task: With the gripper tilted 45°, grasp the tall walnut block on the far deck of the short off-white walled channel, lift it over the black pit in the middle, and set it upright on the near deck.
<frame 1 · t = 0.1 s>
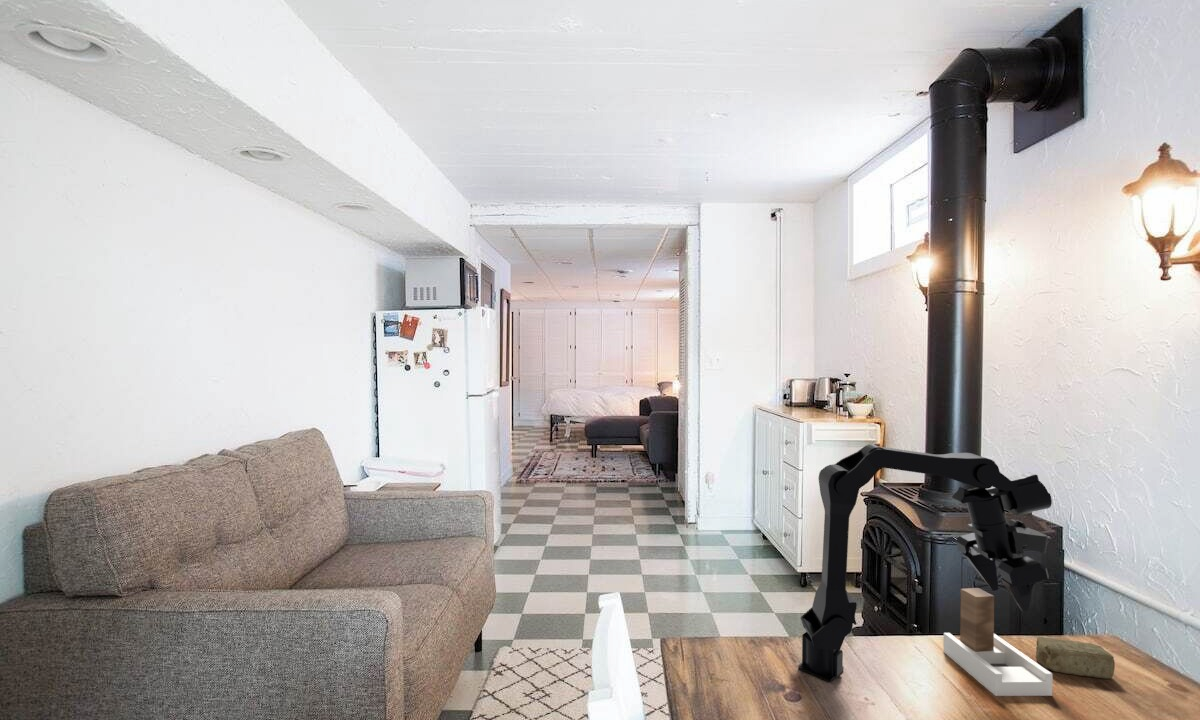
hand: (1009, 600, 106), 15 cm above the table, tool pointing down, fingers open, 9 cm apart
stone block: (1072, 670, 110), on the table
walled channel: (994, 672, 109), on the table
walnut block: (976, 646, 114), point 2 cm above the table, touching walled channel
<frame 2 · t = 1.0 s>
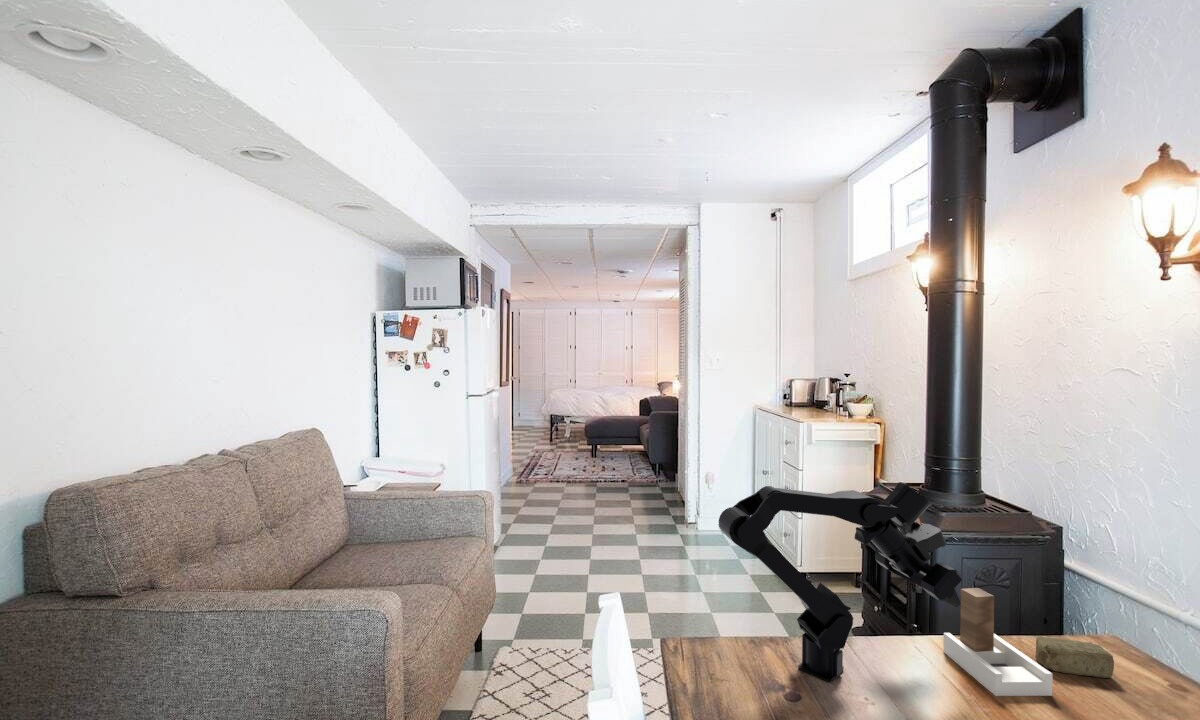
hand: (941, 595, 113), 13 cm above the table, tool tilted 45°, fingers open, 9 cm apart
nothing on the table moved.
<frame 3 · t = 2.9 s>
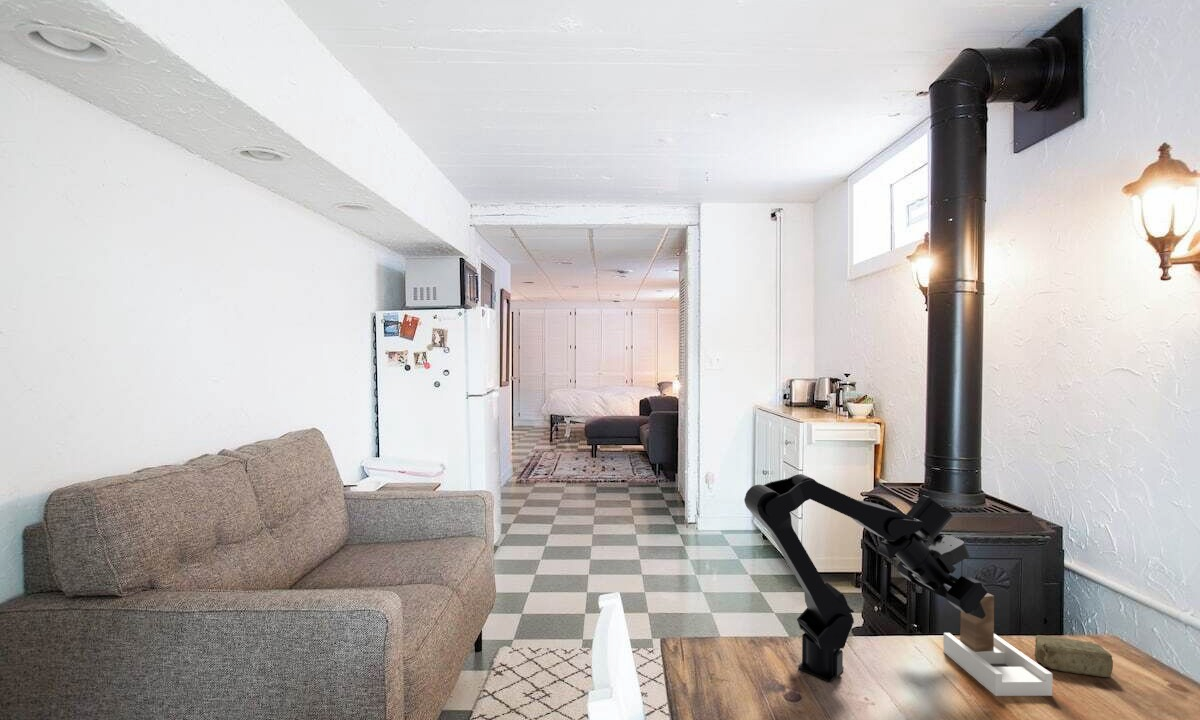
hand: (965, 606, 113), 11 cm above the table, tool tilted 45°, fingers open, 9 cm apart
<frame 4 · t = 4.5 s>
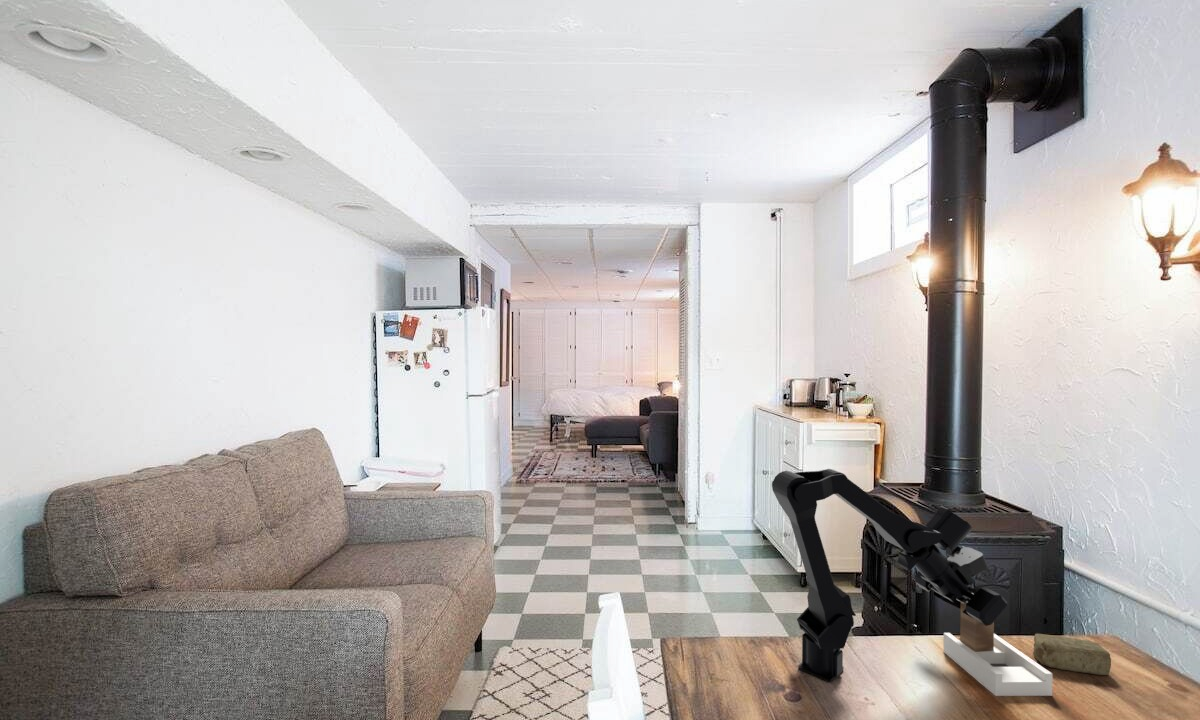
hand: (983, 617, 114), 8 cm above the table, tool tilted 45°, fingers closed on walnut block, 4 cm apart
walnut block: (976, 646, 114), point 2 cm above the table, touching gripper, walled channel
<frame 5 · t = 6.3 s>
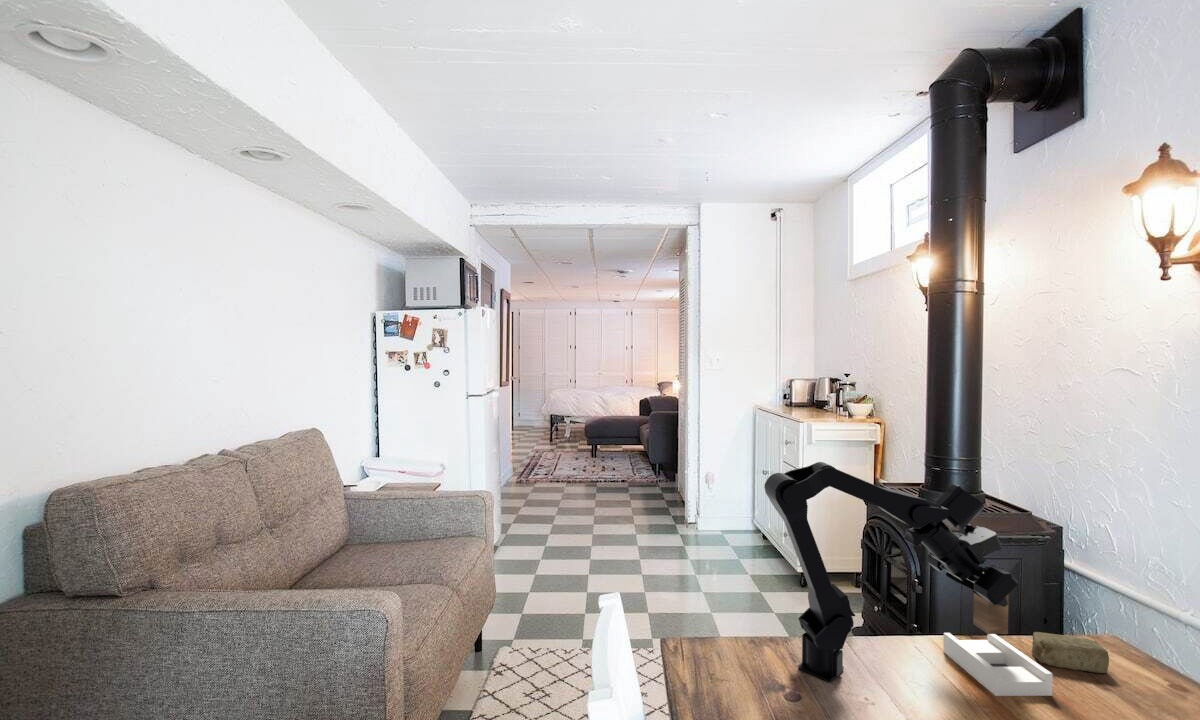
hand: (997, 600, 110), 13 cm above the table, tool tilted 45°, fingers closed on walnut block, 4 cm apart
walnut block: (990, 628, 110), point 8 cm above the table, touching gripper
when the fingers open (9 cm above the table, at t = 8.2 s): walnut block drops 1 cm, resting on walled channel.
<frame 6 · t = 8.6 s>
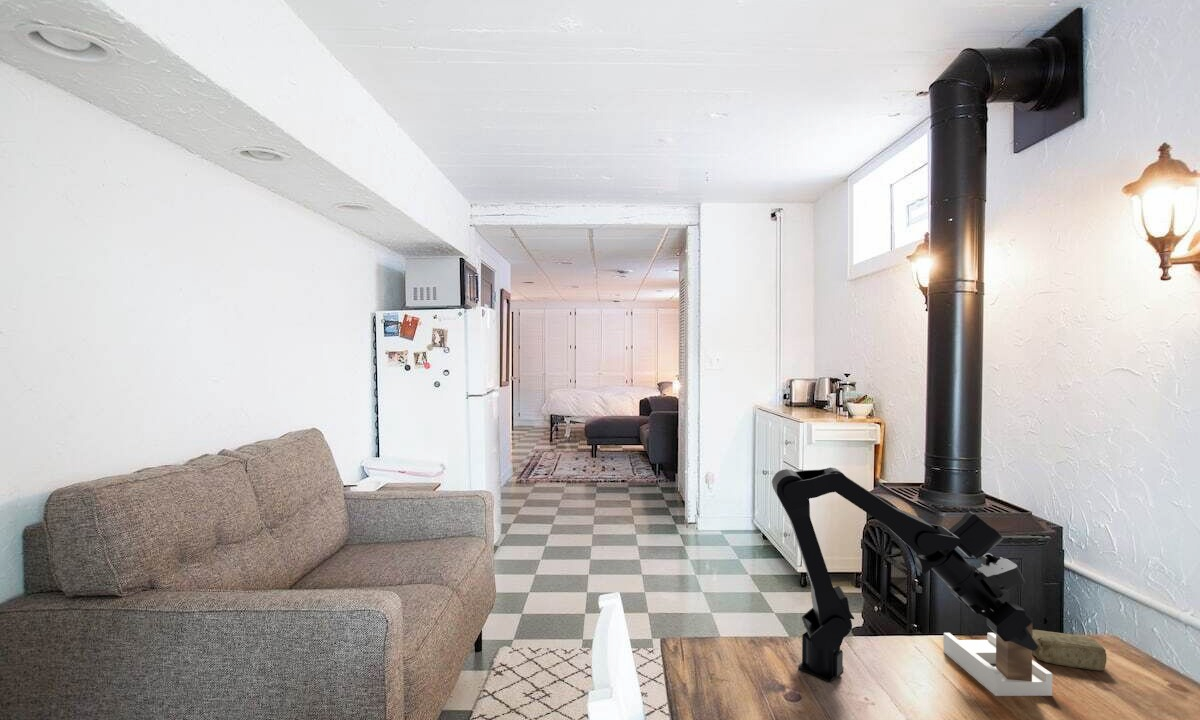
hand: (1022, 637, 103), 9 cm above the table, tool tilted 45°, fingers open, 8 cm apart
walnut block: (1013, 674, 104), point 3 cm above the table, touching walled channel
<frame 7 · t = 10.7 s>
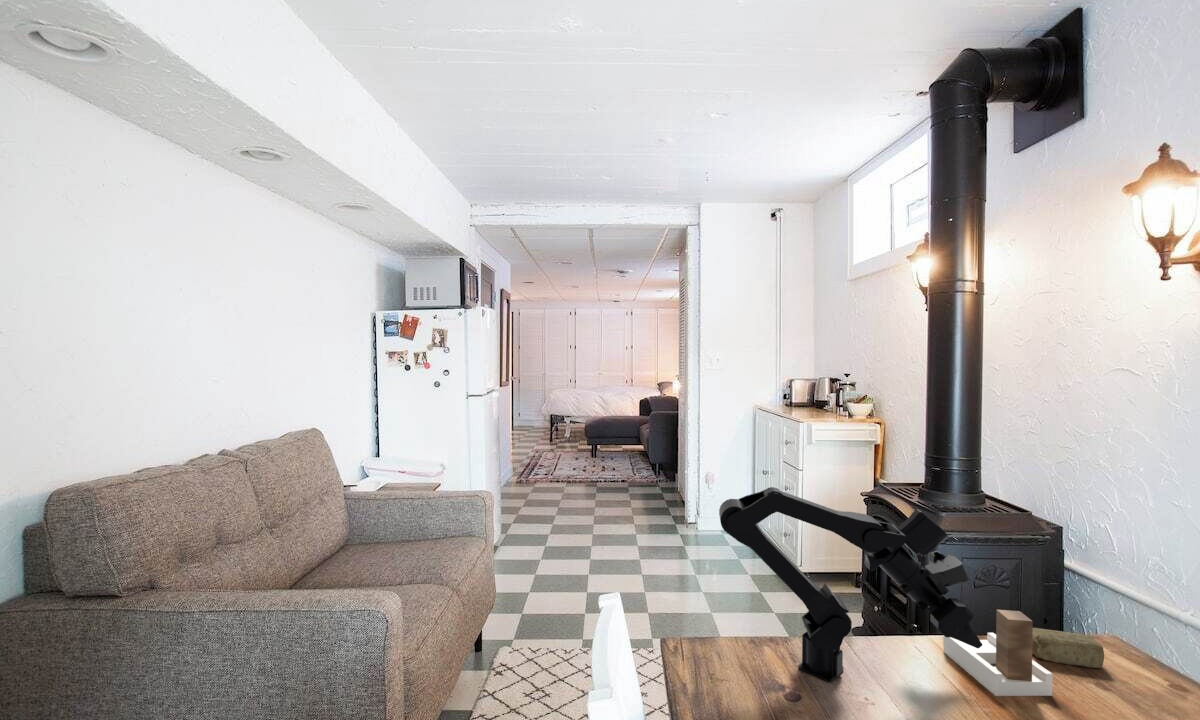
hand: (967, 633, 105), 9 cm above the table, tool tilted 45°, fingers open, 9 cm apart
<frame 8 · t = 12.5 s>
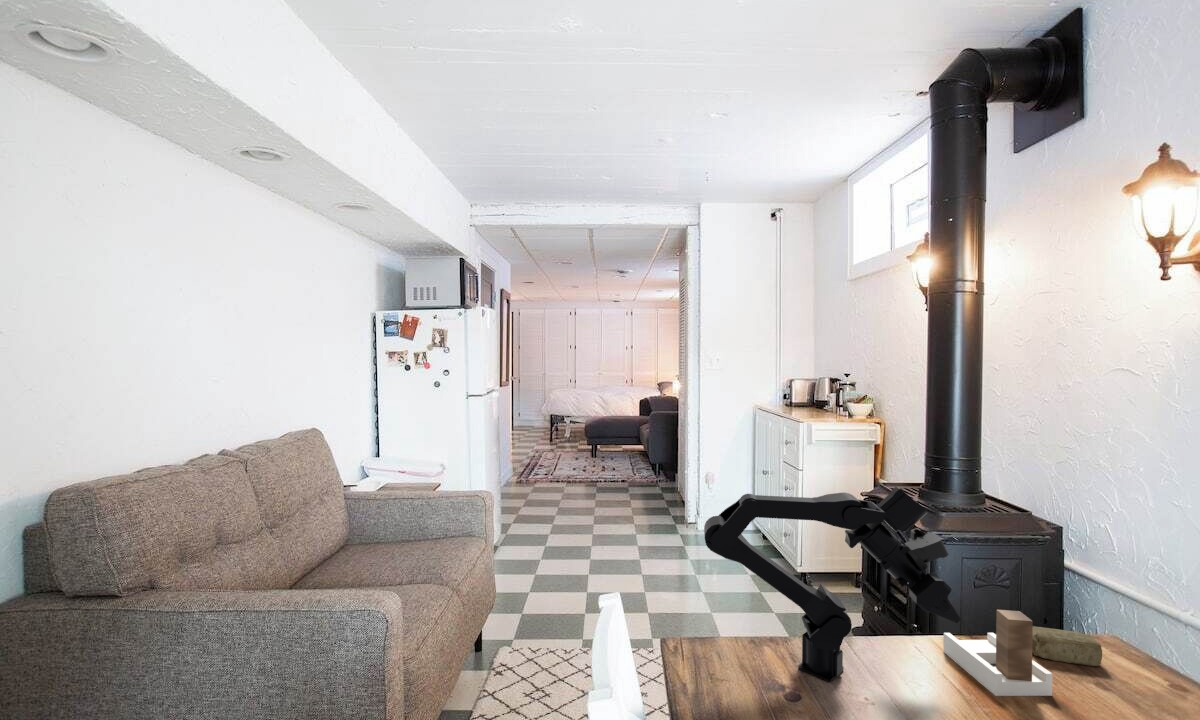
hand: (947, 609, 106), 14 cm above the table, tool tilted 45°, fingers open, 9 cm apart
at the end: walnut block 0.1 cm from the target spot on the walled channel, point 2.5 cm above the walled channel's base; walnut block tilted 0°; the gripper is holding nothing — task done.
